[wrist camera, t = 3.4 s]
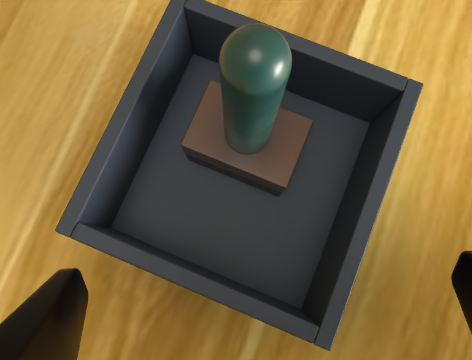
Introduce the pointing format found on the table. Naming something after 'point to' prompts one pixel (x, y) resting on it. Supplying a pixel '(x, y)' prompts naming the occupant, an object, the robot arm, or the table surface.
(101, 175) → the basket
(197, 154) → the teal handled stamp
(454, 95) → the table surface
